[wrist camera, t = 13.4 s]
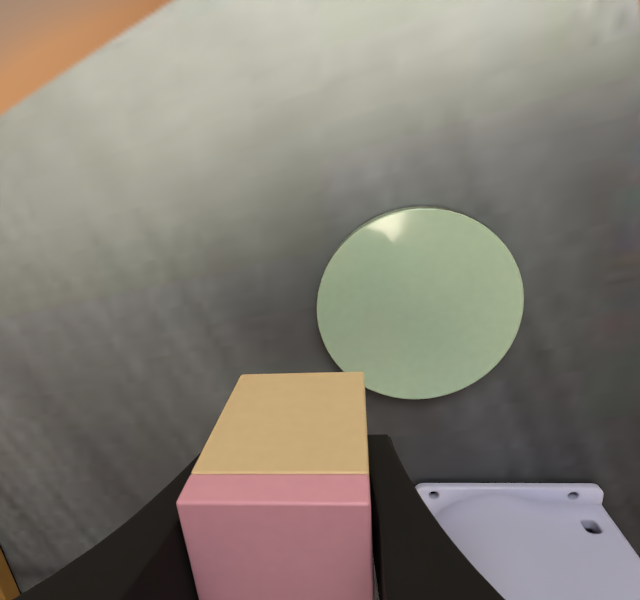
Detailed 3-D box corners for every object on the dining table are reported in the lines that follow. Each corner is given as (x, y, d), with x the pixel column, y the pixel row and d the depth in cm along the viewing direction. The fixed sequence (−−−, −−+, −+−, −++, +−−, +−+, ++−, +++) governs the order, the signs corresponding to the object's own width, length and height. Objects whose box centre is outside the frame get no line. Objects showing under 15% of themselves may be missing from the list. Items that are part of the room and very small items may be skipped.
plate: (527, 199, 17) (535, 201, 16) (508, 389, 20) (514, 398, 19) (310, 212, 18) (309, 214, 17) (323, 392, 21) (322, 401, 20)
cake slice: (363, 370, 12) (371, 504, 8) (368, 486, 14) (376, 659, 9) (240, 373, 13) (174, 502, 8) (257, 486, 14) (209, 652, 9)
